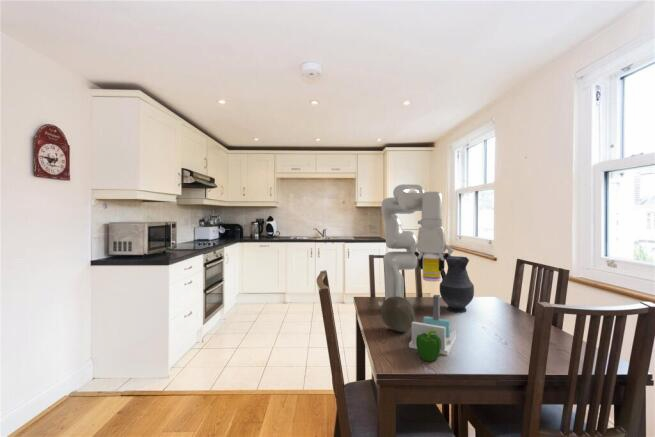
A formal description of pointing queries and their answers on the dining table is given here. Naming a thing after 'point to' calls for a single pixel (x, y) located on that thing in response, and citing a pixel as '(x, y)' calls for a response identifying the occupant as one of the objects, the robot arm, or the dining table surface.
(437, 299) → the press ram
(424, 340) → the bell pepper
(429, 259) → the supplement bottle
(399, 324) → the cantaloupe
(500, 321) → the dining table surface
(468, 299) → the pitcher
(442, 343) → the press frame
